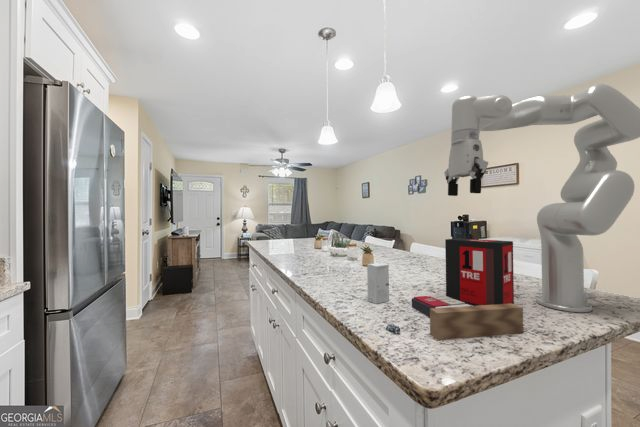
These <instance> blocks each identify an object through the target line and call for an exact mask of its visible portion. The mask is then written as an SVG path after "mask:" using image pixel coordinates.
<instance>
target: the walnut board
mask: <svg viewBox="0 0 640 427" xmlns="http://www.w3.org/2000/svg"><path fill="white" fill-rule="evenodd" d="M523 333H524V307H522V306H520V305H517V304H515V303H514V304H512V303H511V304H495V305H479V306H472V305H470V306H463V307H447V308H431V309H430V317H429V334H430V335H431V336H432V337H433V338H435V340H437V341H440V340H442V341H443V340H453V339H465V338H467V339H469V338H480V337H489V336H502V335H503V336H504V335H514V334H523Z"/></svg>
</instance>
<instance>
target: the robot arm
mask: <svg viewBox="0 0 640 427" xmlns="http://www.w3.org/2000/svg"><path fill="white" fill-rule="evenodd" d="M596 116H599V117H600V118H601V119H599V120H598V119H597V120H595V121H592V122H590V123H587V124H585V125H583V126H581V127H579V129H577V131H576V132H575V134H574V135H573V136H574V137H573V143H574V146H575V148H576V150H577V152H578V155H579V162H578V164H577V165H576V167H575V169H574V170H573V172H572V173H571V174H570V175H569V177H568V179H567V180H566V181H565V182H564V184H563V186H562V188H561V190H560V198H561V199H562V201H563V202H556V203H551V204H550V203H549V204H547V205H545V206H542V207H541V209H539V210H538V213H537V215H536V223H537V227H538V231H539V236H540V242H541V243H540V244H541V245H540V246H541V254H540V255H541V294H542V295H538V296H537V297H535V302H537V304H539V305H541V306H544V307H547V308H550V309H554V310H559V311H565V312H570V313H571V312H573V313H589V312H592V310H593V306H592V305H591V304H590V303H587V300H594V299H596V298H597V296H596V294H595V293H594V292H586V291H585V278H584V277H585V275H584V274H585V270H584V269H585V268H584V248H583V247H584V246H583V245H582V243H581V240H580V239H579V237H578V236H591V237H593V236H599V235H603V234H604V233H606V232H607V231H608V230H610V229H611V228H612V227H613V226H614V224H615V223H616V222H617V220H618V218H619V217H620V216H621V214H622V213H623V211H624V210H625V208H626V207H627V205H628V204H629V203H630V202H631V200H632V198H633V196H634V193H635V182H634V179H633V177H632V176H631V175H630V174H629V173H627V172H626V171H623V170H617V168H618V161H617V159H616V158H615V156H614V155H613V154H612V153H611V151H610V150H609V149H608V147H610V146H615V145H619V144H623V143H627V142H630V141H631V142H632V141H635V140H637V139H639V138H640V107H639V106H638V105H636V104H635V103H634V102H633V101H632V100H631V99H629V98H628V97H627V96H626V95H625V94H623V93H622V92H621V91H619V90H618V89H616V88H614V87H612V86H610V85H609V84H604V83H596V84H593V85H591V86H589V87H585V89H582V90H580V91H578V92H576V93H573V94H568V95H567V94H565V95H563V94H562V95H538V96H532V97H530V98H526V99H523V100H521V101H518V102H516V103H513V102H512V100H511V99H510V97H508V96H507V95H505V94H493V95H492V94H491V95H485V96H475V95H465V96H461V97H459V98H456V99H455V100H454V101H453V103H452V105H451V133H450V134H451V137H450V145H451V146H450V151H449V156H448V166H447V169H446V170H445V171H444V176H445V180H446V184H447V195H448V196H450V197H458V195H459V184H458V181H459V179H460V178H467V177H471V178H470V179H469V193H470V194H481V193H482V180H483V179H484V175H485V173H486V172H487V169H488V168H487V167H488V165H489V161H487V160H484V150H483V144H482V141H481V140H480V132H494V131H495V132H496V131H505V130H512V129H519V128H524V127H525V128H526V127H530V126H545V125H546V126H551V125H554V126H558V125H559V126H560V125H562V126H564V125H573V124H577V123H580V122H582V121H585V120H588V119H591V118H594V117H596Z"/></svg>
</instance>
